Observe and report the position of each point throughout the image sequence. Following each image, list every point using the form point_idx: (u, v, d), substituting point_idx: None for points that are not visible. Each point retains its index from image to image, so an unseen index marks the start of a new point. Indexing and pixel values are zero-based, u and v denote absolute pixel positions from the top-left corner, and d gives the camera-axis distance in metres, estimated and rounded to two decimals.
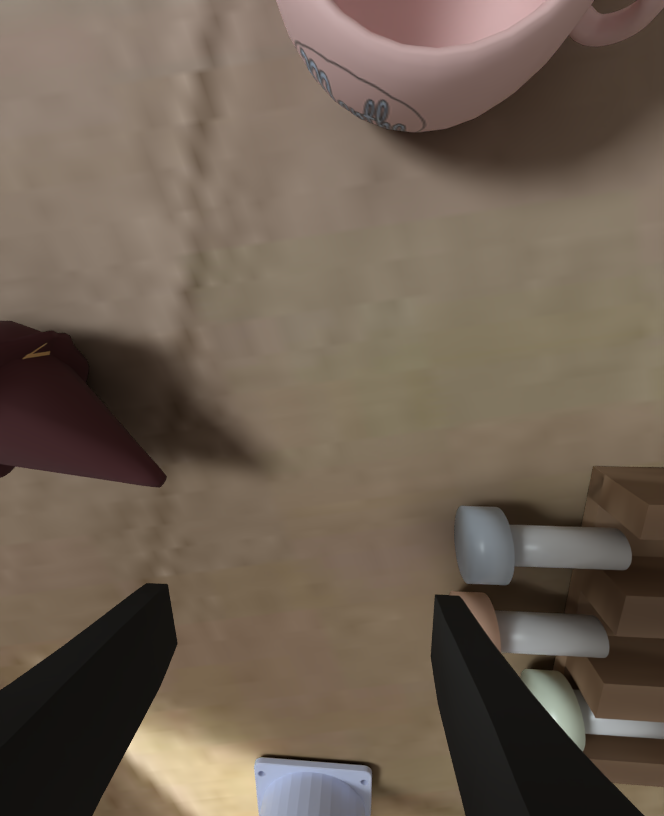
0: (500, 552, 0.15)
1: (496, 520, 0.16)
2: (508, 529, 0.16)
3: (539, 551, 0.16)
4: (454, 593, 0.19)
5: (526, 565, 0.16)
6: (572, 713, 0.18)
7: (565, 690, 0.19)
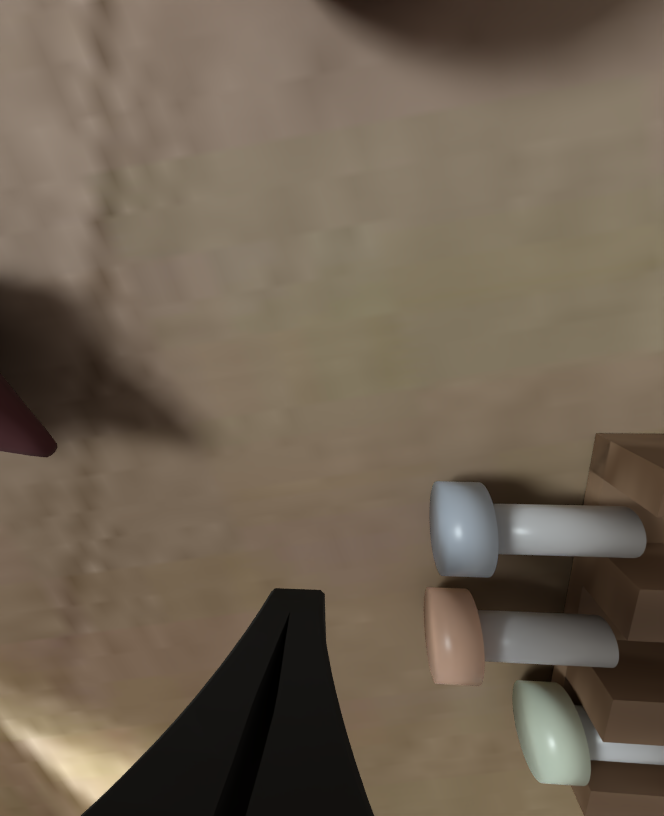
0: (480, 535, 0.12)
1: (476, 496, 0.13)
2: (491, 506, 0.12)
3: (530, 533, 0.13)
4: (430, 589, 0.15)
5: (514, 552, 0.13)
6: (574, 736, 0.15)
7: (565, 707, 0.15)
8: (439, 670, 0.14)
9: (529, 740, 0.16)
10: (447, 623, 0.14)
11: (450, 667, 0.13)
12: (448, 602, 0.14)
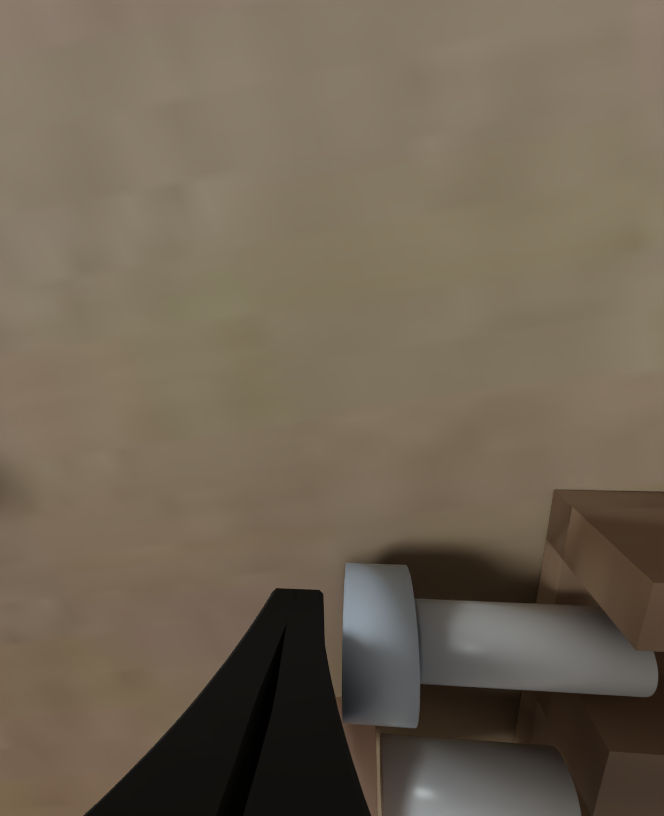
0: (392, 674, 0.08)
1: (393, 601, 0.08)
2: (412, 623, 0.08)
3: (476, 661, 0.08)
4: None
5: (454, 685, 0.09)
6: None
7: None
8: None
9: None
10: None
11: None
12: None
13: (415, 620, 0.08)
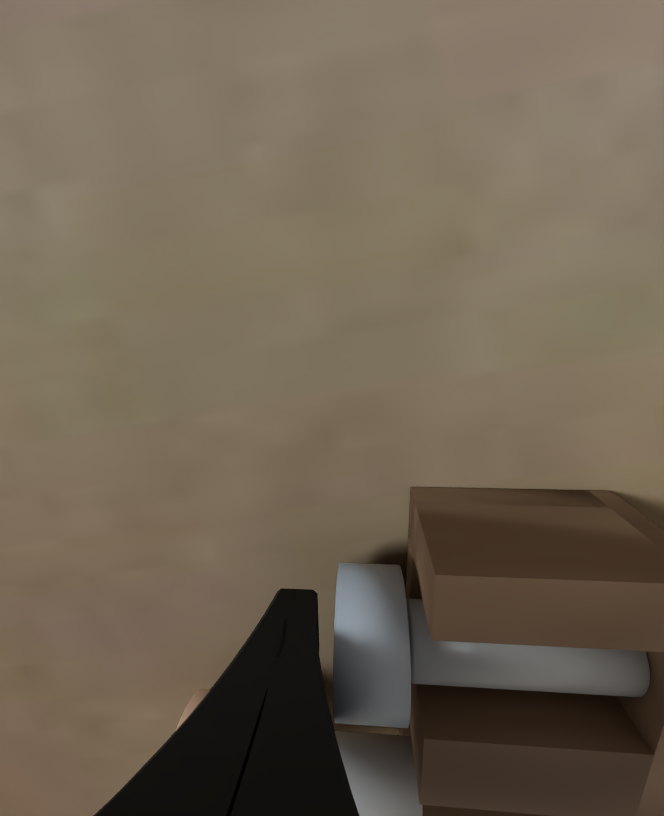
0: (383, 674, 0.08)
1: (385, 601, 0.08)
2: (404, 623, 0.08)
3: (468, 662, 0.08)
4: (192, 698, 0.11)
5: (446, 685, 0.08)
6: None
7: None
8: None
9: None
10: None
11: None
12: None
13: (406, 620, 0.08)
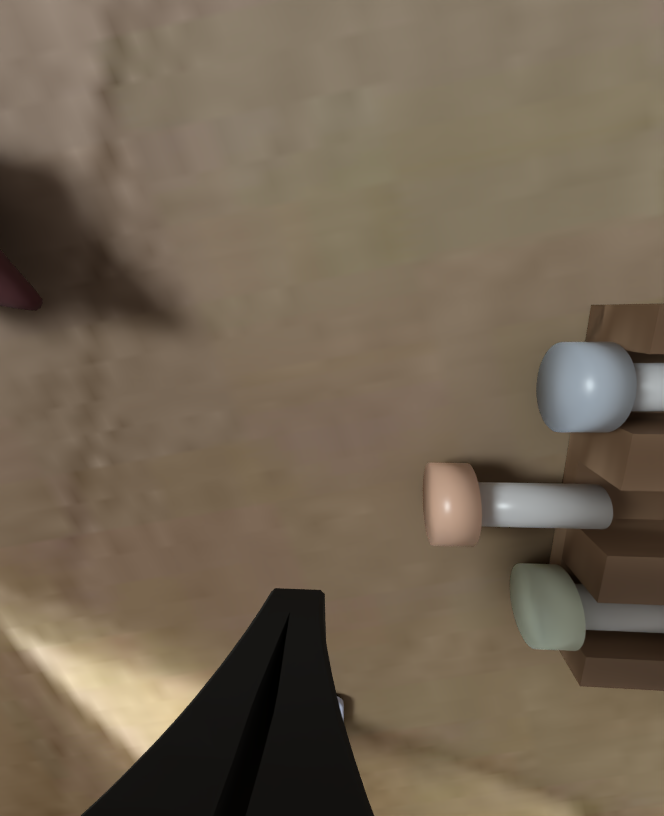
0: (618, 376, 0.12)
1: (606, 346, 0.13)
2: (624, 352, 0.12)
3: (661, 382, 0.13)
4: (428, 463, 0.16)
5: (641, 405, 0.13)
6: (570, 600, 0.15)
7: (561, 577, 0.16)
8: (437, 525, 0.14)
9: (526, 615, 0.16)
10: (445, 482, 0.14)
11: (448, 520, 0.14)
12: (446, 468, 0.15)
13: (625, 351, 0.12)
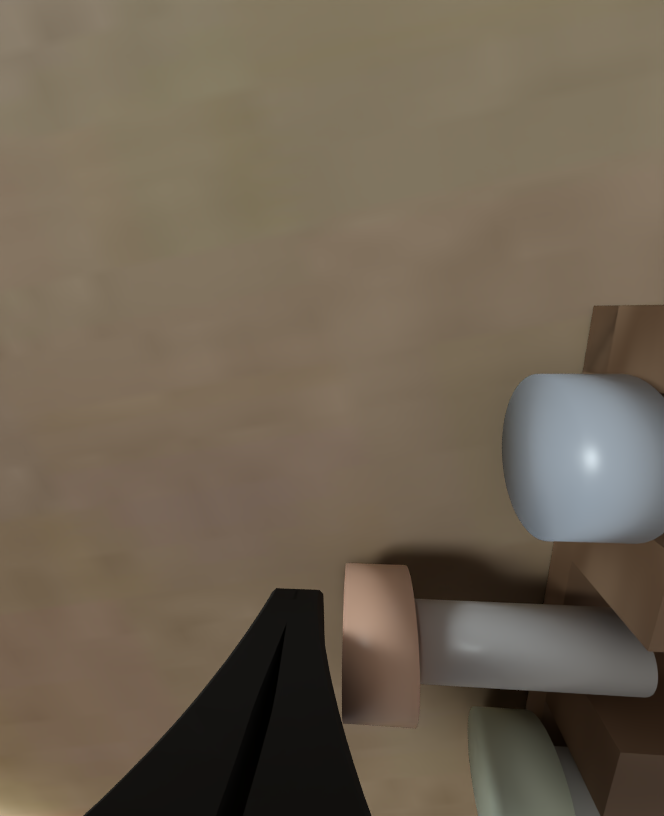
0: (649, 451, 0.06)
1: (623, 385, 0.07)
2: (660, 400, 0.06)
3: None
4: (346, 566, 0.10)
5: None
6: (555, 807, 0.09)
7: (542, 755, 0.10)
8: None
9: (486, 803, 0.10)
10: (359, 620, 0.08)
11: (359, 698, 0.08)
12: (368, 585, 0.09)
13: (662, 397, 0.06)
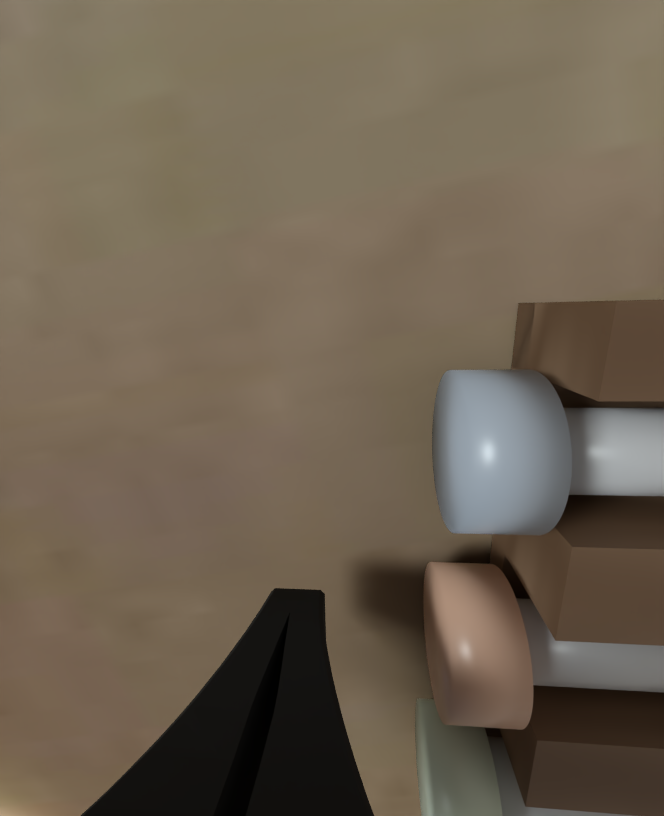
0: (535, 444, 0.06)
1: (521, 380, 0.07)
2: (552, 394, 0.06)
3: (625, 450, 0.07)
4: (433, 565, 0.09)
5: (591, 489, 0.07)
6: (482, 795, 0.09)
7: (474, 744, 0.10)
8: (450, 704, 0.08)
9: (424, 793, 0.10)
10: (464, 620, 0.08)
11: (470, 699, 0.07)
12: (464, 584, 0.08)
13: (555, 392, 0.06)
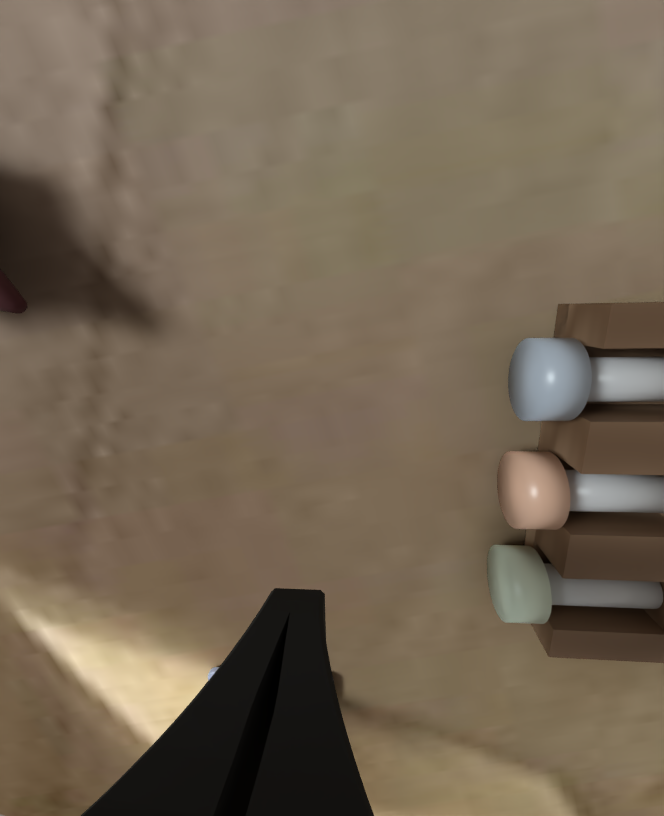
0: (574, 368, 0.13)
1: (566, 341, 0.14)
2: (582, 347, 0.14)
3: (616, 374, 0.14)
4: (509, 452, 0.17)
5: (599, 395, 0.14)
6: (538, 576, 0.16)
7: (531, 556, 0.17)
8: (527, 508, 0.15)
9: (499, 592, 0.18)
10: (533, 468, 0.15)
11: (538, 504, 0.15)
12: (530, 455, 0.16)
13: (583, 346, 0.14)
